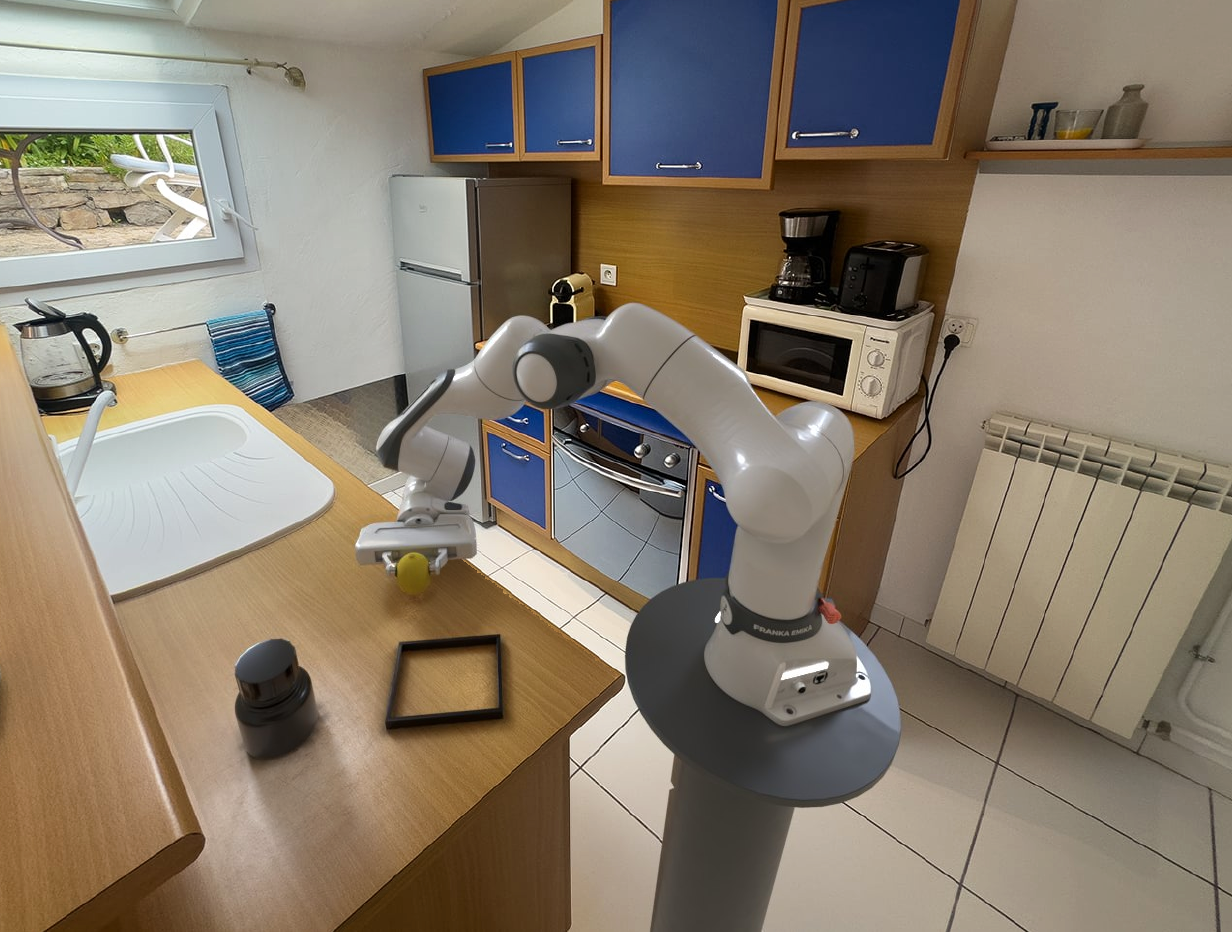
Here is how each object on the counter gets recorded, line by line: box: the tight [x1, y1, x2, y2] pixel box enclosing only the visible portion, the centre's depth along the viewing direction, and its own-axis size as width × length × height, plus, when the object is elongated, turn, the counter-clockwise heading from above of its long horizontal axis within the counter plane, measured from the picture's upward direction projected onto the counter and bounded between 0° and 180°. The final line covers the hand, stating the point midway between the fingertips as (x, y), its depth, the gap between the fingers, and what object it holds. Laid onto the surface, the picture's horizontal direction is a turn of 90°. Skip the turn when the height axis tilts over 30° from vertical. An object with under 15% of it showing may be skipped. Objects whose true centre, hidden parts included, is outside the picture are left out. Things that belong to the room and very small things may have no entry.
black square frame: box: [384, 633, 504, 731], centre depth 82 cm, size 15×13×2 cm
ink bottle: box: [234, 638, 319, 760], centre depth 73 cm, size 10×9×12 cm
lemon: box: [395, 552, 432, 596], centre depth 94 cm, size 6×6×8 cm
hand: (412, 573), depth 92 cm, fingers closed on lemon, 5 cm apart
